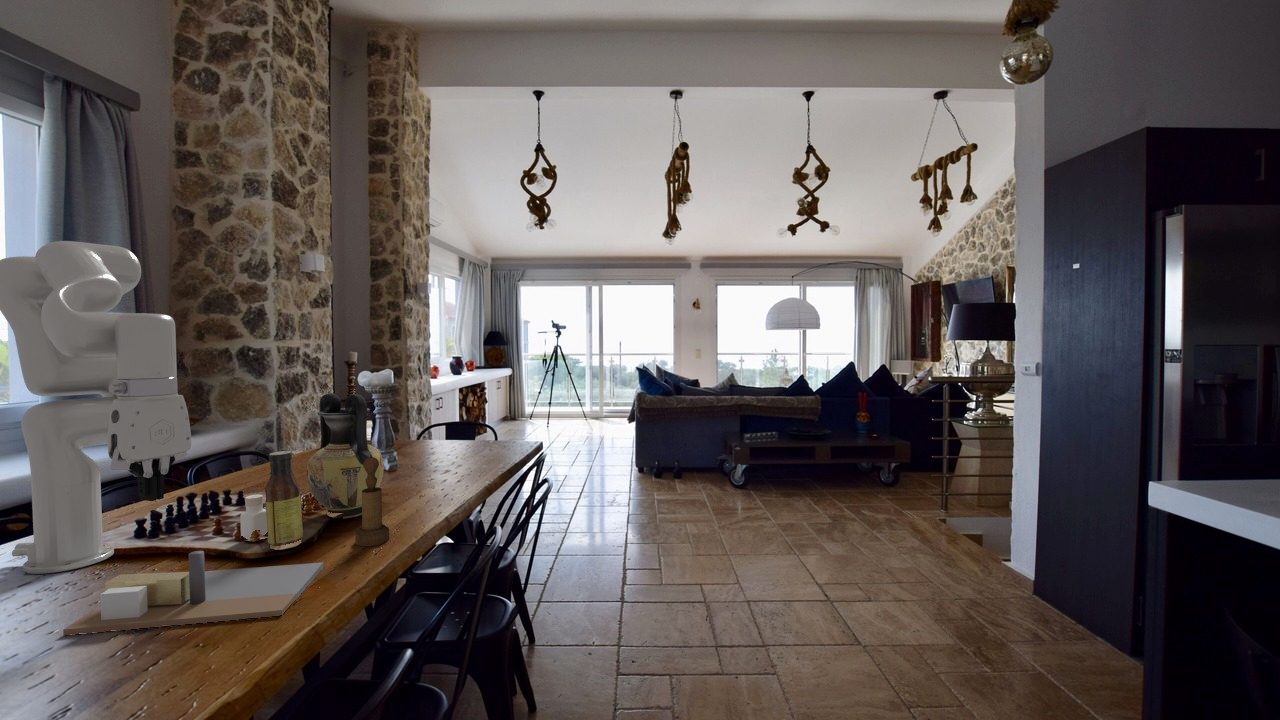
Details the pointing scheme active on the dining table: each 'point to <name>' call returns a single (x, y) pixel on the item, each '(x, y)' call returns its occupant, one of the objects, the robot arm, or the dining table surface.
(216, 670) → the dining table surface
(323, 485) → the amphora
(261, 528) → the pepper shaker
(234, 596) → the plate
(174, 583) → the bar
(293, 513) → the sauce bottle
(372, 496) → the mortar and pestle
